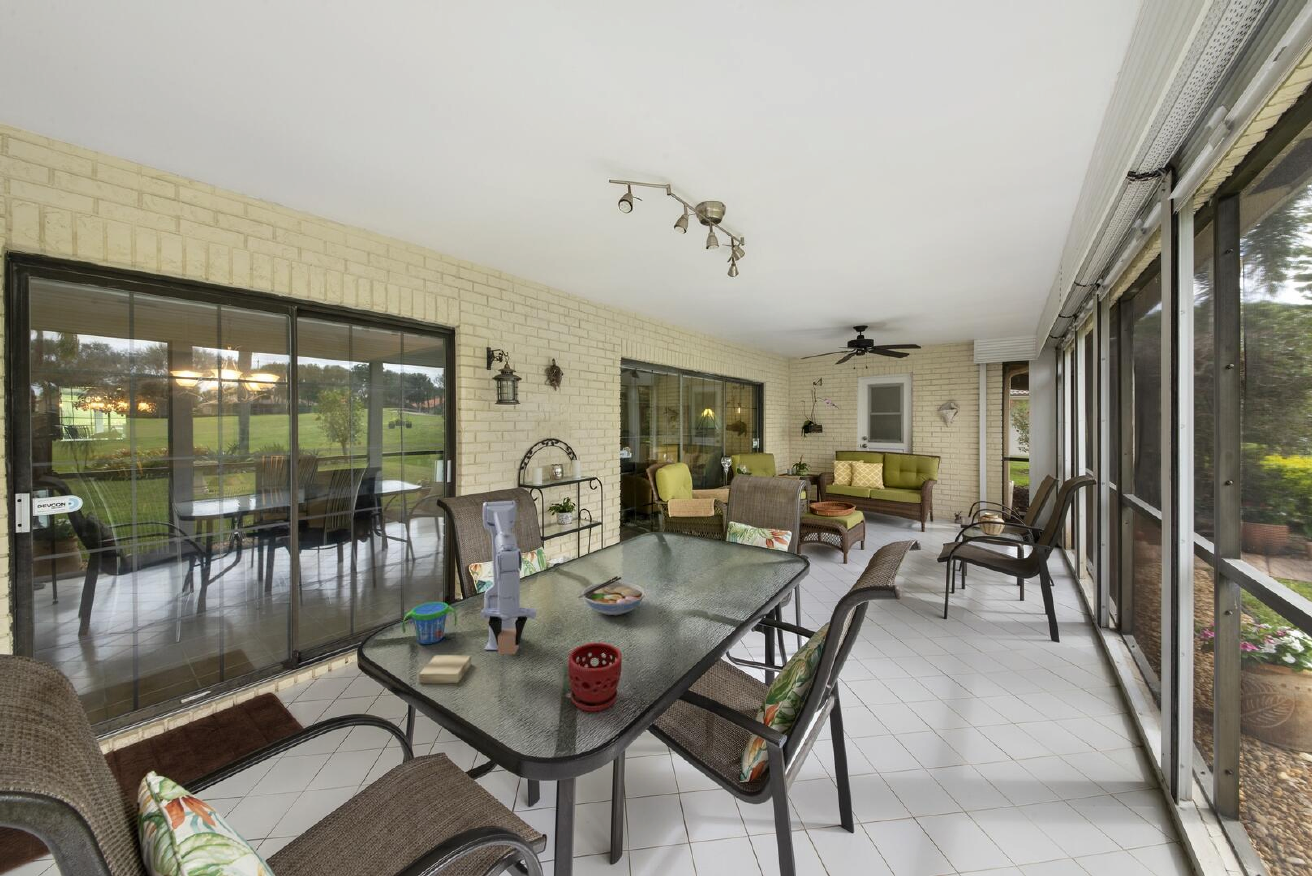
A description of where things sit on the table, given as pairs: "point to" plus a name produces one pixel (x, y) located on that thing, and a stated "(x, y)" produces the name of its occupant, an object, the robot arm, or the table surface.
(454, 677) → the base
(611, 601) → the ramen bowl
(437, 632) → the snack cup
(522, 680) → the table surface
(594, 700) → the plant pot
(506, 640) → the block
